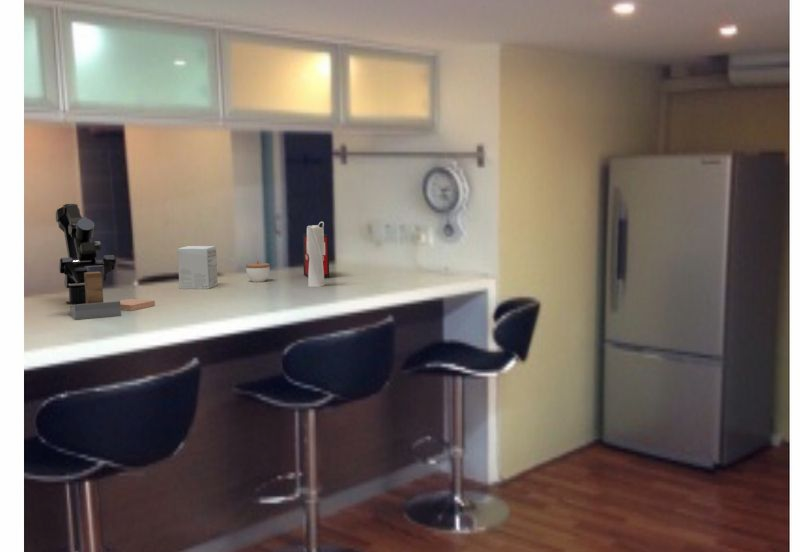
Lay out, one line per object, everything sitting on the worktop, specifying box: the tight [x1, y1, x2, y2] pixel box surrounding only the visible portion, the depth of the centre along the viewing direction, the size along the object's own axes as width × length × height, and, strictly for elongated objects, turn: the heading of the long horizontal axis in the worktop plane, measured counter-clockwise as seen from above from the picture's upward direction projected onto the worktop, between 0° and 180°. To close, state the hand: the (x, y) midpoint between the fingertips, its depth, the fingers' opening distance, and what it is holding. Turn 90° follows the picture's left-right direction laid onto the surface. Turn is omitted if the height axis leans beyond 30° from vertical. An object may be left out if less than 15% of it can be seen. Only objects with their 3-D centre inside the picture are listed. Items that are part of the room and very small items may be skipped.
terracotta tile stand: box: [119, 298, 156, 312], centre depth 308 cm, size 12×12×2 cm
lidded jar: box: [245, 260, 271, 283], centre depth 378 cm, size 11×11×9 cm
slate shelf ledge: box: [69, 300, 122, 321], centre depth 291 cm, size 12×15×5 cm
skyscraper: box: [306, 221, 325, 288], centre depth 359 cm, size 8×8×28 cm
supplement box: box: [177, 245, 218, 290], centre depth 361 cm, size 13×13×18 cm
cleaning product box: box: [302, 233, 330, 280], centre depth 392 cm, size 16×9×20 cm, turn 17°
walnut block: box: [84, 271, 104, 304], centre depth 290 cm, size 5×5×12 cm
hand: (91, 282), depth 293 cm, fingers open, 9 cm apart
